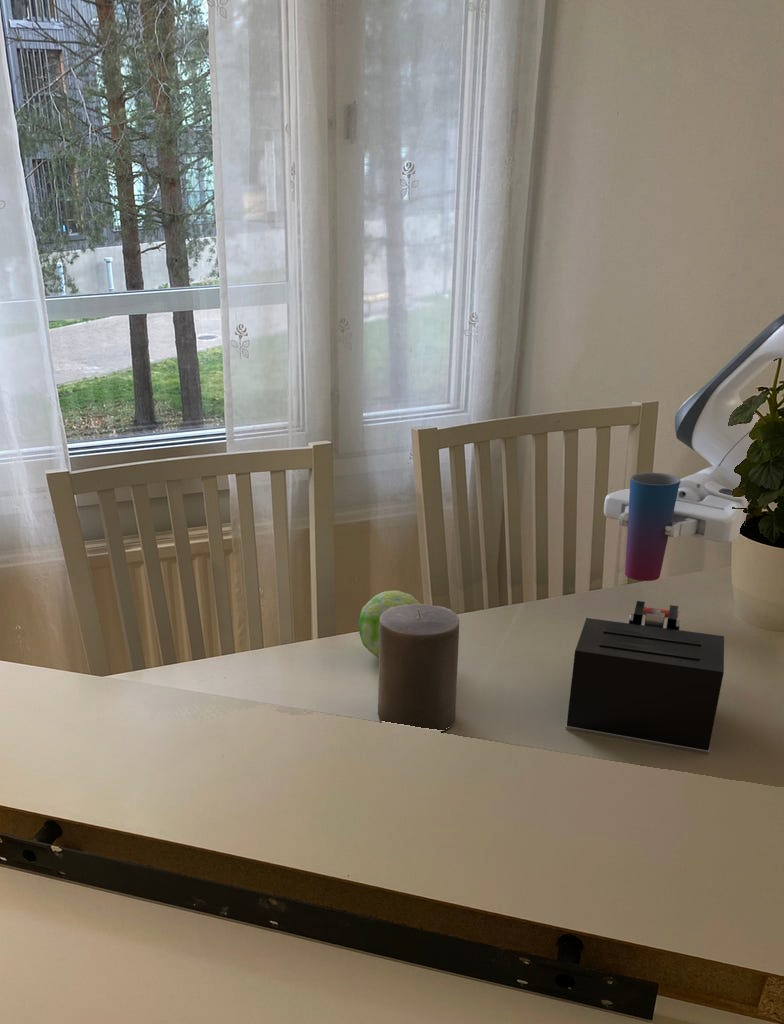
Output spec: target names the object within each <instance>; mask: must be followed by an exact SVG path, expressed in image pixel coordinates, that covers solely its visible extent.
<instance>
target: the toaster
mask: <svg viewBox="0 0 784 1024" xmlns="http://www.w3.org/2000/svg"><path fill="white" fill-rule="evenodd" d="M644 625H645V624H644ZM644 625H643V624H642V625H637V624H629V622H620V621H613V620H604V619H598V618H592V617H591V618H590V617H586V618H585V620H584V623H583V626H582V629H581V631H580V635H579V638H578V641H577V644H576V646H575V650H574V658H573V665H572V675H571V683H570V690H569V691H570V692H569V701H568V709H567V717H566V724H565V726H564V727H565V728H564V730H566V731H569V732H570V731H572V732H576V733H583V734H587V735H594V736H599V737H604V738H609V739H617V740H621V741H628V742H633V743H638V744H645V745H650V746H656V747H661V748H667V749H673V750H677V751H683V752H690V753H696V754H700V755H707V756H708V755H710V748H711V747H710V746H711V741H712V736H713V731H714V730H713V729H714V724H715V719H716V714H717V711H718V705H719V699H720V695H721V694H720V693H721V688H722V683H723V679H724V674H725V673H724V672H725V636H724V635H720V634H712V633H706V632H705V633H704V632H696V631H689V630H681V629H679V630H674V629H667V628H666V627H663V628H659V627H652V626H644Z"/></svg>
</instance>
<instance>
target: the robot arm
mask: <svg viewBox="0 0 784 1024" xmlns="http://www.w3.org/2000/svg"><path fill="white" fill-rule="evenodd" d="M777 359H784V313H782V314H781V315H780V316H779V317H777V318H776V319H774V320H773V321H772V322H771V323H769V324H768V326H766V327H765V328H764V329H763V330H762V331H761V332H760V333H758V334H757V335H756V336H755V337H754V338H753V339H752V340H751V341H750V342H749V343H748V344H747V345H746V346H745V347H743V348H742V350H740V351H739V352H738V353H737V354H736V355H735V356H734V357H733V358H732V359H731V360H730V361H729V362H728V363H727V364H726V365H725V366H724V367H723V368H722V369H721V370H719V372H718V373H717V374H715V375H714V377H712V378H711V379H710V380H709V381H708V382H707V383H706V384H705V385H704V386H702V387H701V388H700V389H699V390H697V391H696V392H694V393H693V394H692V395H691V396H689V397H688V398H687V399H686V400H685V401H684V402H683V403H682V404H681V405H680V407H679V408H678V409H677V411H676V412H675V415H674V430H675V436H676V437H675V438H676V439H677V440H678V441H679V442H681V443H683V444H684V445H685V446H687V448H689V449H691V450H692V451H694V452H696V453H697V454H699V456H701V457H702V458H703V459H705V461H707V462H708V463H709V464H710V465H711V466H709V467H706V468H703V469H701V470H699V471H697V472H695V473H693V474H689V475H686V476H685V477H683V478H679V479H680V484H679V489H678V494H677V498H676V503H675V508H674V512H673V517H672V522H671V523H669V524H667V525H666V526H665V530H666V531H665V532H664V535H665V536H668V537H670V538H674V539H675V538H676V537H679V536H689V537H693V538H698V539H703V540H706V541H711V542H715V543H721V544H727V543H731V542H734V541H736V540H737V539H738V538H739V537H740V536H739V533H740V528H741V526H742V524H743V523H744V521H745V522H746V518H747V514H746V513H744V512H743V510H744V509H732V507H735V508H747V509H748V505H749V502H748V501H747V499H746V498H745V497H733V495H732V491H733V489H735V488H736V487H738V486H739V484H740V482H741V476H740V475H739V474H737V473H735V472H734V469H735V467H736V466H737V465H739V464H740V463H741V462H742V461H743V460H744V459H745V458H746V455H747V451H748V449H749V447H750V445H751V444H752V443H753V440H752V439H751V438H750V437H749V433H750V431H751V429H752V428H753V427H754V425H755V423H756V422H758V420H759V417H760V416H759V414H757V413H756V414H757V415H756V414H754V415H753V419H752V421H751V422H750V423H747V424H737V425H733V426H730V427H729V426H728V422H729V418H730V415H731V414H732V412H733V411H734V410H735V409H736V408H737V407H739V406H740V405H742V404H743V403H744V402H743V401H742V399H741V397H740V392H741V391H742V390H743V389H744V388H745V387H746V386H747V385H748V384H749V383H751V382H752V381H753V380H754V379H755V378H756V377H757V376H758V375H759V374H760V373H761V372H762V371H764V370H765V369H766V368H767V367H768V366H769V365H770V364H771V363H772V362H773V361H774V360H777ZM758 416H759V417H758ZM629 495H630V488H625V489H624V488H623V489H621V490H617V491H614V492H611V493H608V494H607V495H606V496H605V499H604V503H603V514H604V516H605V518H608V519H612V520H616V521H618V526H621V527H626V528H628V512H629ZM738 536H739V537H738ZM737 537H738V538H737Z"/></svg>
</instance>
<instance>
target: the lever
mask: <svg viewBox="0 0 784 1024" xmlns="http://www.w3.org/2000/svg"><path fill="white" fill-rule="evenodd" d="M668 614H669V609H664V608H656V607H647V606H644V613H643V616H645V619H644V626H652V627H659V628H664V624H665V619H668ZM679 614H680V612H679V610H678V613H677V620H678V619H679Z"/></svg>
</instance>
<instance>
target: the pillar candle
mask: <svg viewBox="0 0 784 1024" xmlns="http://www.w3.org/2000/svg"><path fill="white" fill-rule="evenodd" d="M459 639H460V618H459V616H458V615H457V613H456V612H454V611H453V610H452V609H451V608H446V607H444V606H440V605H432V604H425V603H420V604H412V605H411V604H408V605H401V606H396V607H390V608H388V609H387V611H385V612H383V614H382V615H381V616H380V628H379V657H378V695H377V701H378V702H377V715H378V719H379V721H380V720H381V721H385V722H391V723H397V724H404V725H410V726H415V727H421V728H429V729H437V730H446V728H448V727H450V726H451V727H452V726H453V725H454V724H453V723H455V720H456V709H457V707H456V705H457V689H458V688H457V685H458V665H459V664H458V662H459V659H458V658H459V641H460V640H459ZM381 721H380V722H381ZM452 724H453V725H452ZM451 727H450V728H451ZM446 731H447V730H446Z"/></svg>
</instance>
